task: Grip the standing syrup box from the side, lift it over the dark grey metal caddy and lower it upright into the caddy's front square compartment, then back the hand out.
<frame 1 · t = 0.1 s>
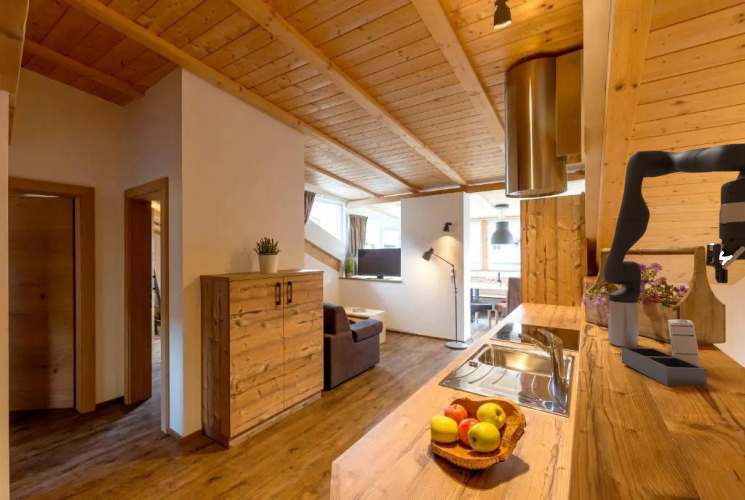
hand: (740, 283, 83), 28 cm above the counter, tool pointing down, fingers open, 8 cm apart
caddy: (660, 373, 95), on the counter
syrup box: (686, 368, 99), on the counter
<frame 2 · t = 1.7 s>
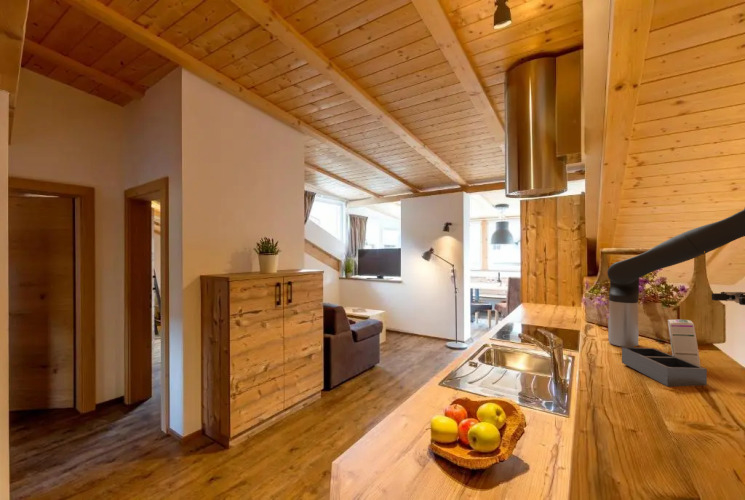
hand: (726, 298, 98), 22 cm above the counter, tool horizontal, fingers open, 8 cm apart
nothing on the counter moved.
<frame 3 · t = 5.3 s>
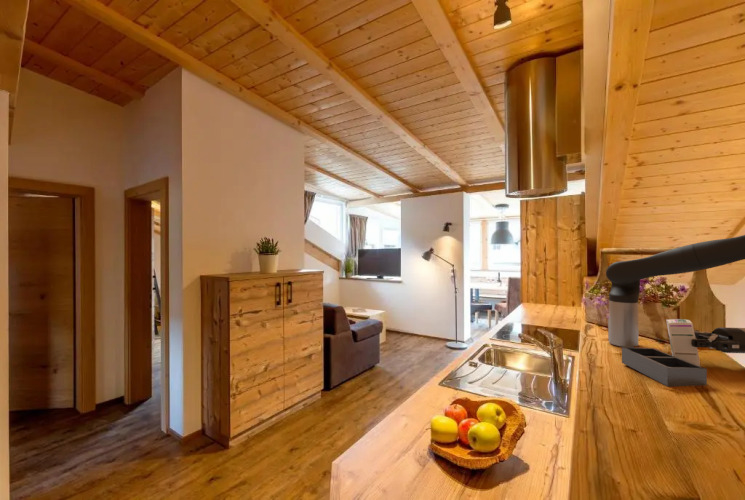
hand: (680, 339, 100), 9 cm above the counter, tool horizontal, fingers open, 8 cm apart
syrup box: (686, 368, 99), on the counter, touching gripper
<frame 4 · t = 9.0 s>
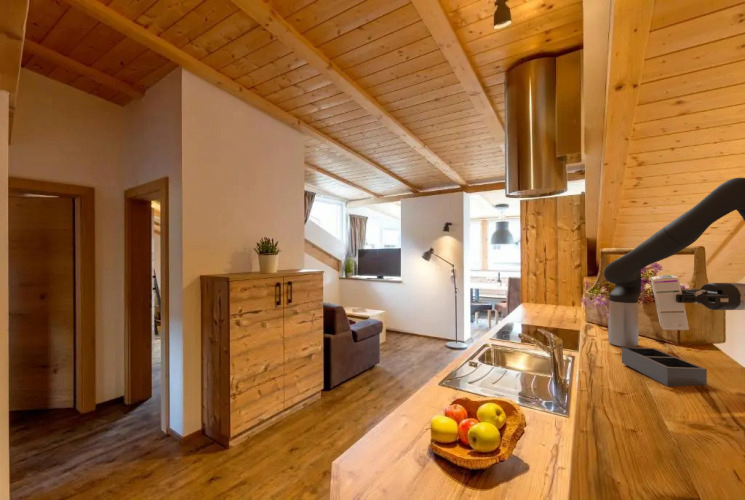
hand: (665, 296, 91), 24 cm above the counter, tool horizontal, fingers closed on syrup box, 7 cm apart
syrup box: (673, 328, 91), point 15 cm above the counter, touching gripper
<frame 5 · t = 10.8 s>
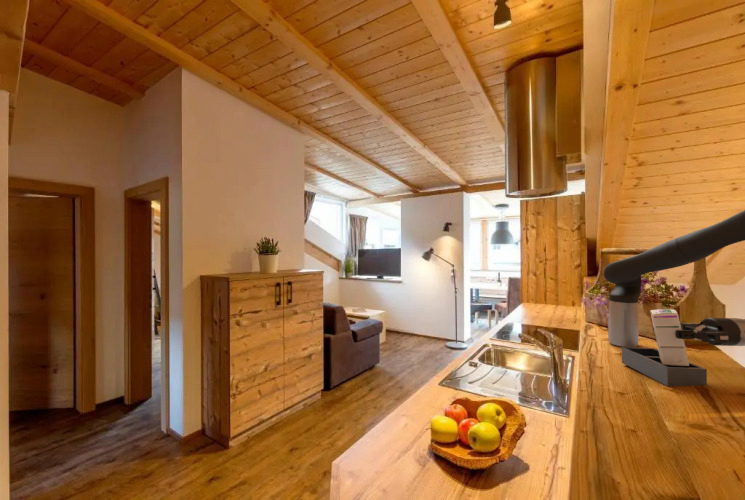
hand: (664, 330, 91), 14 cm above the counter, tool horizontal, fingers closed on syrup box, 7 cm apart
syrup box: (674, 362, 90), point 5 cm above the counter, touching caddy, gripper
when the fingers open (13 cm above the counter, at t = 12.4 s): syrup box stays where it is, resting on caddy.
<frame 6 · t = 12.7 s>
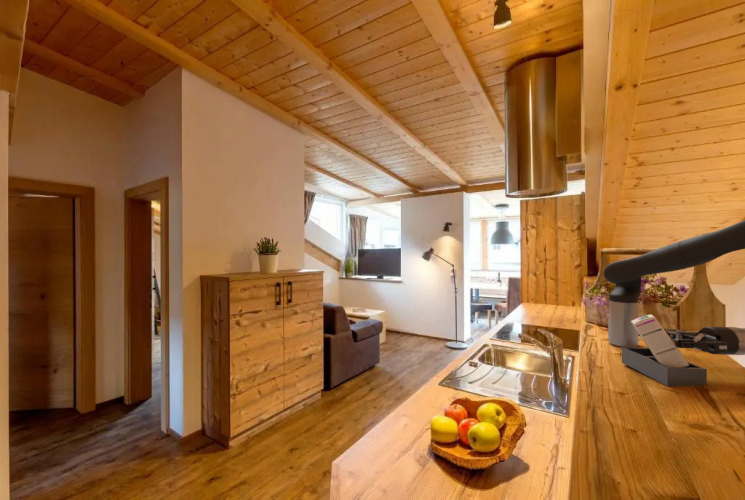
hand: (663, 339, 91), 11 cm above the counter, tool horizontal, fingers open, 8 cm apart
syrup box: (675, 366, 90), point 4 cm above the counter, touching caddy, gripper
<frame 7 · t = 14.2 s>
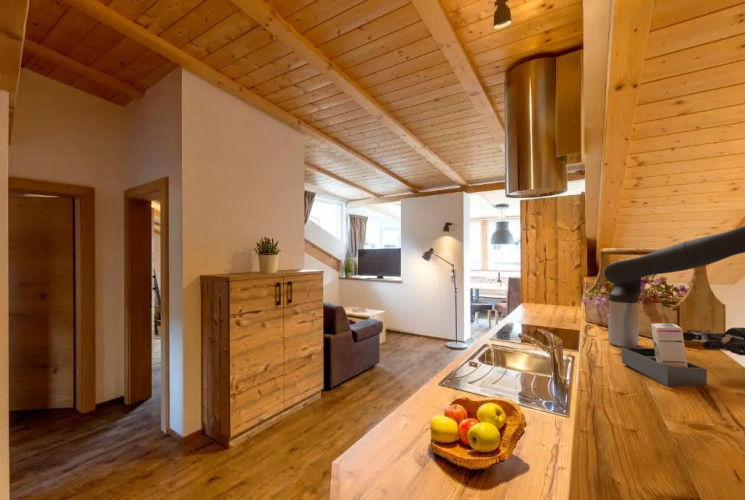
hand: (690, 340, 90), 11 cm above the counter, tool horizontal, fingers open, 8 cm apart
syrup box: (672, 377, 91), point 1 cm above the counter, touching caddy
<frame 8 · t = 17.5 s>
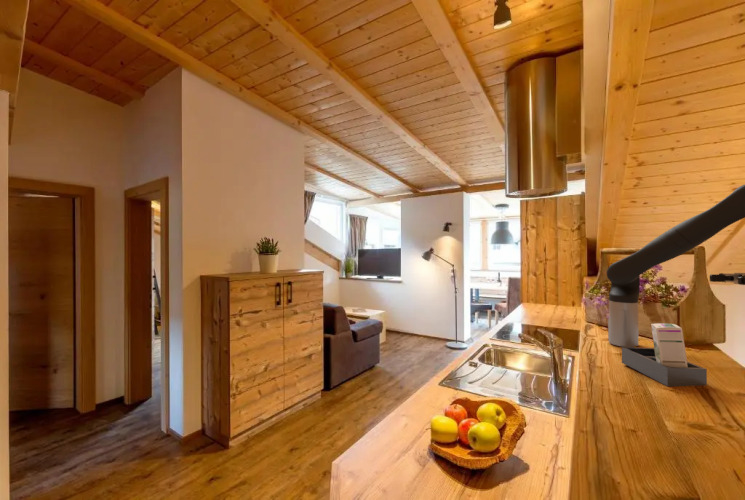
hand: (724, 279, 95), 28 cm above the counter, tool horizontal, fingers open, 8 cm apart
nothing on the counter moved.
at the end: syrup box 0.1 cm from the target spot on the caddy, point 0.8 cm above the caddy's base; syrup box tilted 5°; the gripper is holding nothing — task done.
